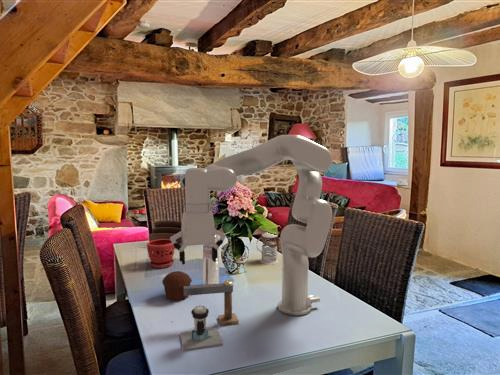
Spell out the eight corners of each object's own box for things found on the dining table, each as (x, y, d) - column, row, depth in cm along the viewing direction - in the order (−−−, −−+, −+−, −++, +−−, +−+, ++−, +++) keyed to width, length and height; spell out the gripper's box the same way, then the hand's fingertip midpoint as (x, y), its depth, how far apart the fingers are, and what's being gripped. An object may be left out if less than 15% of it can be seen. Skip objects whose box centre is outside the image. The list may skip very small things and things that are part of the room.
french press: (279, 264, 193) (280, 215, 190) (256, 264, 193) (256, 215, 190) (278, 258, 203) (279, 211, 199) (256, 258, 203) (256, 211, 200)
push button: (210, 332, 124) (209, 302, 123) (215, 340, 119) (214, 309, 118) (189, 336, 122) (189, 305, 120) (194, 344, 117) (193, 313, 115)
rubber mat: (216, 329, 127) (216, 327, 127) (223, 345, 118) (223, 343, 118) (180, 334, 124) (180, 332, 124) (183, 350, 114) (183, 348, 114)
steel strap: (233, 292, 131) (233, 283, 130) (184, 296, 127) (183, 287, 127) (231, 288, 134) (231, 279, 133) (183, 292, 130) (183, 283, 130)
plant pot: (172, 260, 199) (172, 237, 198) (176, 268, 187) (175, 244, 185) (146, 262, 195) (146, 239, 194) (148, 270, 183) (147, 246, 181)
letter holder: (155, 242, 232) (154, 220, 230) (187, 244, 229) (187, 221, 228) (149, 247, 222) (148, 223, 220) (182, 248, 220) (182, 224, 218)
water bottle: (222, 285, 165) (222, 228, 162) (210, 290, 160) (209, 231, 157) (211, 281, 169) (211, 226, 166) (199, 285, 165) (199, 228, 161)
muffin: (156, 300, 150) (155, 275, 149) (172, 289, 160) (171, 266, 159) (183, 305, 146) (182, 279, 144) (197, 294, 156) (197, 270, 155)
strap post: (234, 315, 137) (234, 287, 136) (238, 323, 131) (238, 294, 130) (217, 317, 135) (217, 289, 134) (221, 325, 130) (221, 296, 128)
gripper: (223, 204, 124) (223, 256, 126) (168, 207, 119) (169, 260, 122) (228, 209, 117) (228, 263, 119) (170, 211, 112) (171, 268, 114)
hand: (198, 261), depth 120 cm, fingers open, 9 cm apart
